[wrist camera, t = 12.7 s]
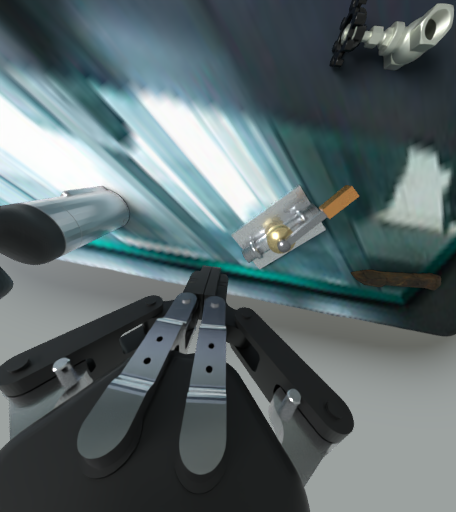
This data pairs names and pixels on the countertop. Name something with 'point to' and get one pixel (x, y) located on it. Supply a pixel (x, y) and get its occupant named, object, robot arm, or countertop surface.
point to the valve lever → (320, 216)
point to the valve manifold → (276, 227)
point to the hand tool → (397, 279)
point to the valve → (392, 35)
